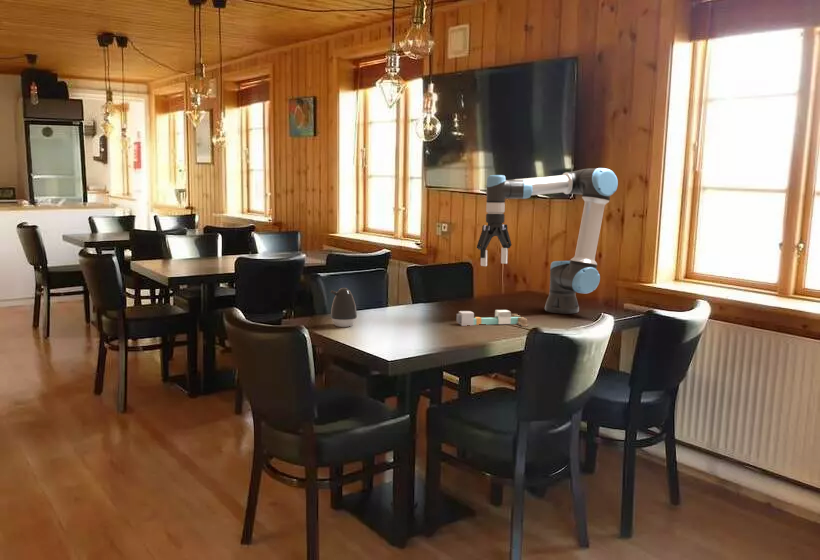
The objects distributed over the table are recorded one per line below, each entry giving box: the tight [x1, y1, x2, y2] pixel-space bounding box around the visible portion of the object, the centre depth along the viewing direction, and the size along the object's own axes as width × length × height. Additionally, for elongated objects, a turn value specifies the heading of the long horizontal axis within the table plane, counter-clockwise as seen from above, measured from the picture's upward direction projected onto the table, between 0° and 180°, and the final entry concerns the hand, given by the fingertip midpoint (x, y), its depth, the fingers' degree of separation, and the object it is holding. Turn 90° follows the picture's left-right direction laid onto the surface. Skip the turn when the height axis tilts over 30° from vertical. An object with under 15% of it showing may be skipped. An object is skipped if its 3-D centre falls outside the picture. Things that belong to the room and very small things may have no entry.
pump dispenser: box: [330, 287, 358, 328], centre depth 279 cm, size 10×10×15 cm
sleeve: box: [494, 309, 512, 325], centre depth 290 cm, size 5×5×5 cm
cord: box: [456, 310, 518, 327], centre depth 289 cm, size 27×5×5 cm, turn 101°
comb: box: [511, 313, 529, 327], centre depth 292 cm, size 2×14×3 cm, turn 11°
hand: (494, 264), depth 294 cm, fingers open, 13 cm apart
